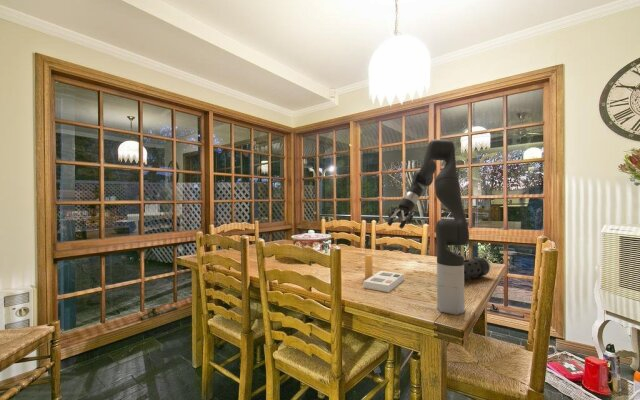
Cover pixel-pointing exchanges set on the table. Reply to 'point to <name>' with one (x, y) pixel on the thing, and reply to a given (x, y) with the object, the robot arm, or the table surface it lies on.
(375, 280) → the socket plate
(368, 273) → the plug
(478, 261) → the muzzle brake
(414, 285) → the table surface
